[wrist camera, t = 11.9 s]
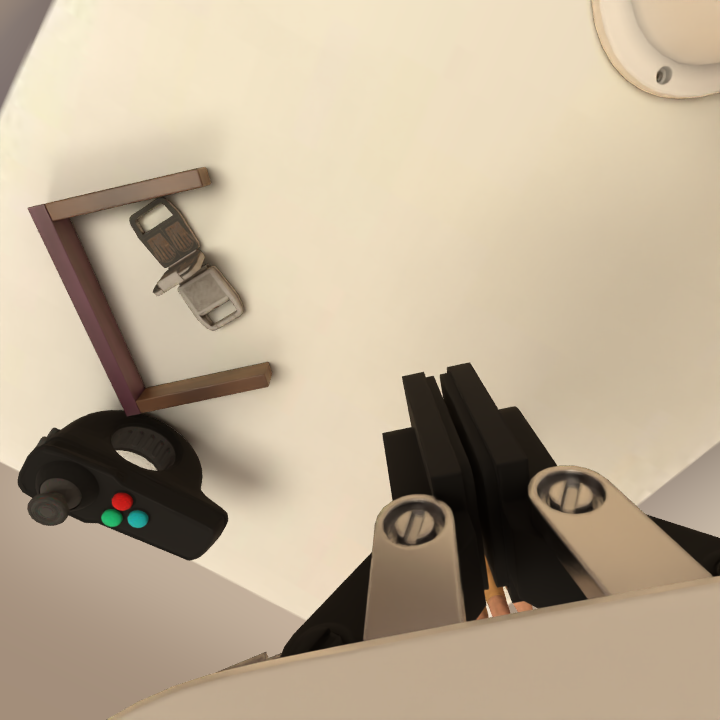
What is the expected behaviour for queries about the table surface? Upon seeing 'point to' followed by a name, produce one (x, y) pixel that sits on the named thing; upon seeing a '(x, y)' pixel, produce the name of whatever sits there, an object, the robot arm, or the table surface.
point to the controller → (123, 482)
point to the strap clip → (186, 266)
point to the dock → (97, 312)
